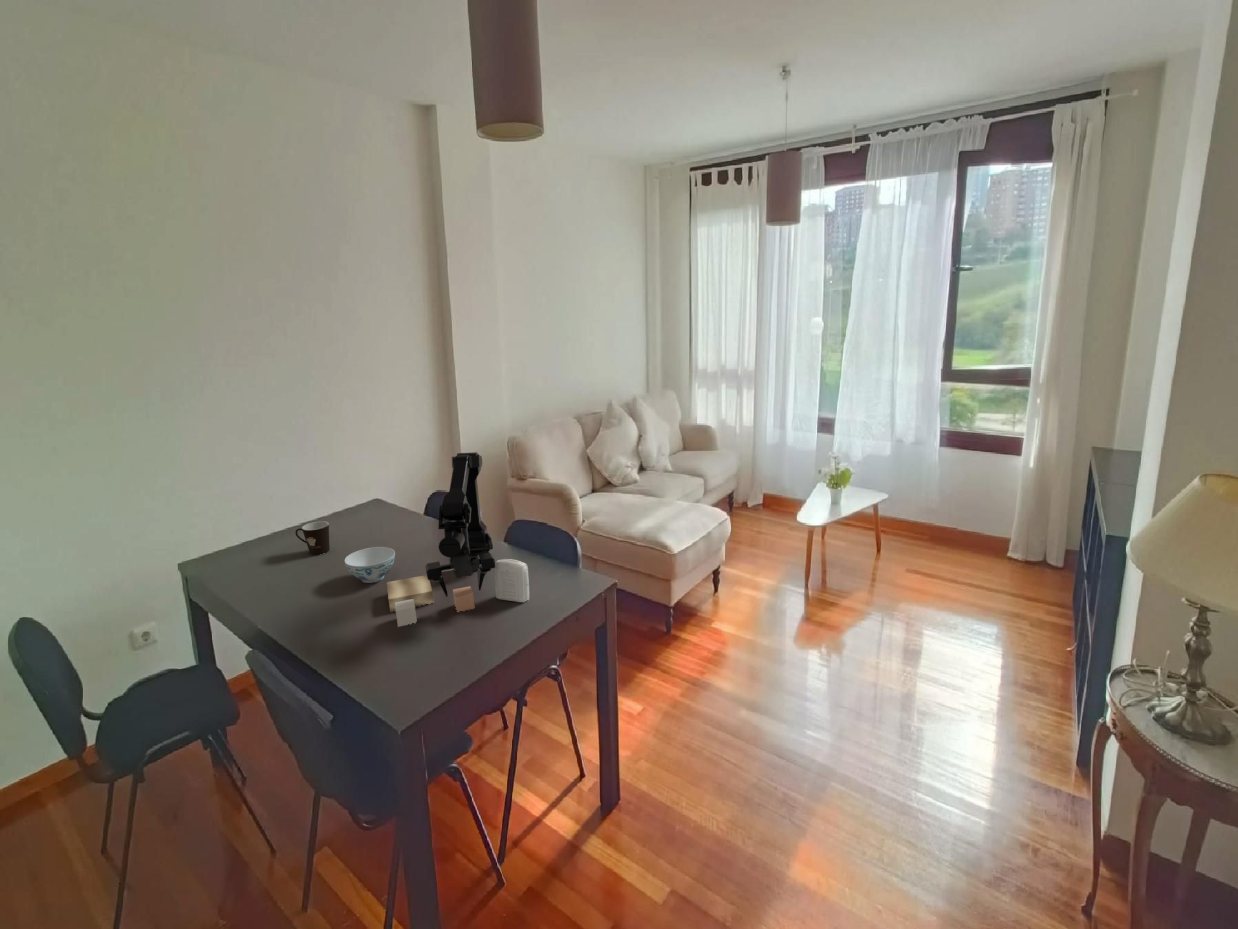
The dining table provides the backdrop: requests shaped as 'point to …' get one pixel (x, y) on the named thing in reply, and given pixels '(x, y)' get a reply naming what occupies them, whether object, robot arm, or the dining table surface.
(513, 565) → the white rounded block
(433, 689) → the dining table surface
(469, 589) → the terracotta cube
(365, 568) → the chinaware
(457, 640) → the dining table surface
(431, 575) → the robot arm
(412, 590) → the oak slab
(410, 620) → the grey cube
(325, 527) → the coffee mug
